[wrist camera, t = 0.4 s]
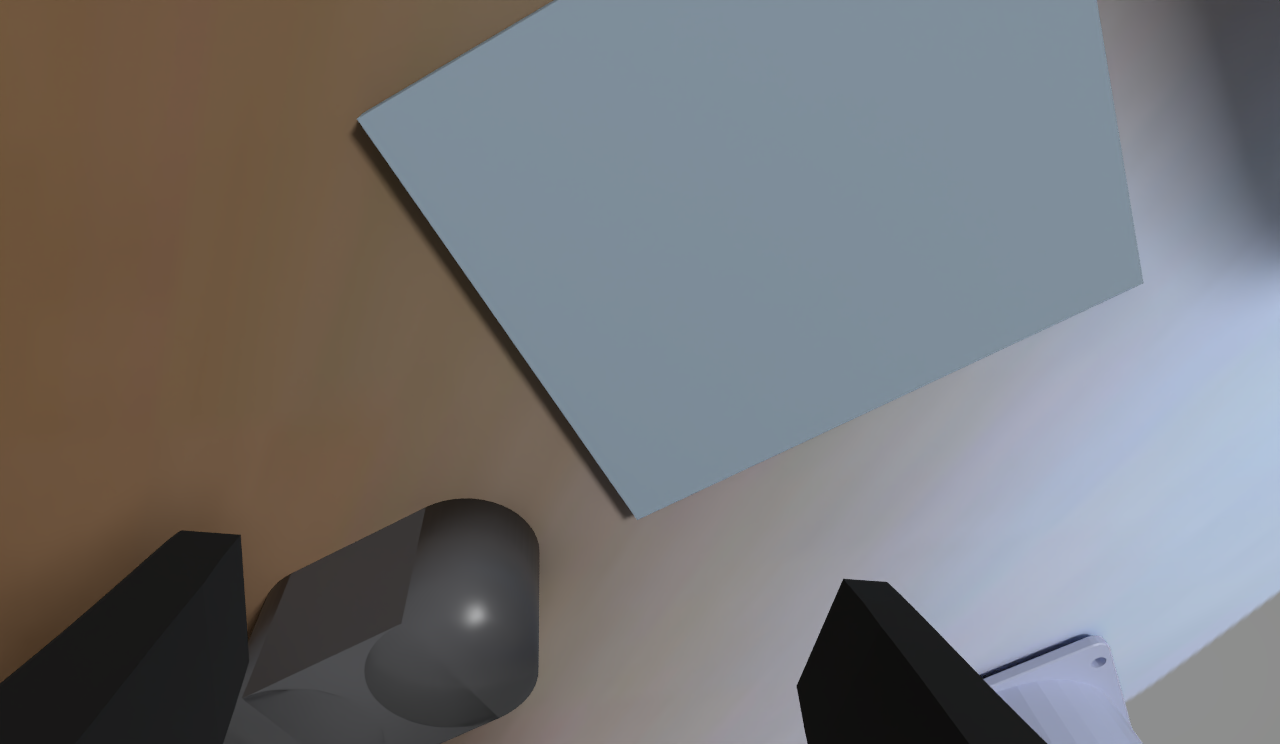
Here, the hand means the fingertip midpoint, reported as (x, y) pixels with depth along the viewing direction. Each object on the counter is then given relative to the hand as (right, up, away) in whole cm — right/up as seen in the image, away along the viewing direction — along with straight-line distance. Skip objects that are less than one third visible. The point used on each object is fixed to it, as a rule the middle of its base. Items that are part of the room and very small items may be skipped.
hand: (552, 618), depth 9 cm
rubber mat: (+4, +7, +8) cm, 11 cm away
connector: (-6, -3, +12) cm, 14 cm away
